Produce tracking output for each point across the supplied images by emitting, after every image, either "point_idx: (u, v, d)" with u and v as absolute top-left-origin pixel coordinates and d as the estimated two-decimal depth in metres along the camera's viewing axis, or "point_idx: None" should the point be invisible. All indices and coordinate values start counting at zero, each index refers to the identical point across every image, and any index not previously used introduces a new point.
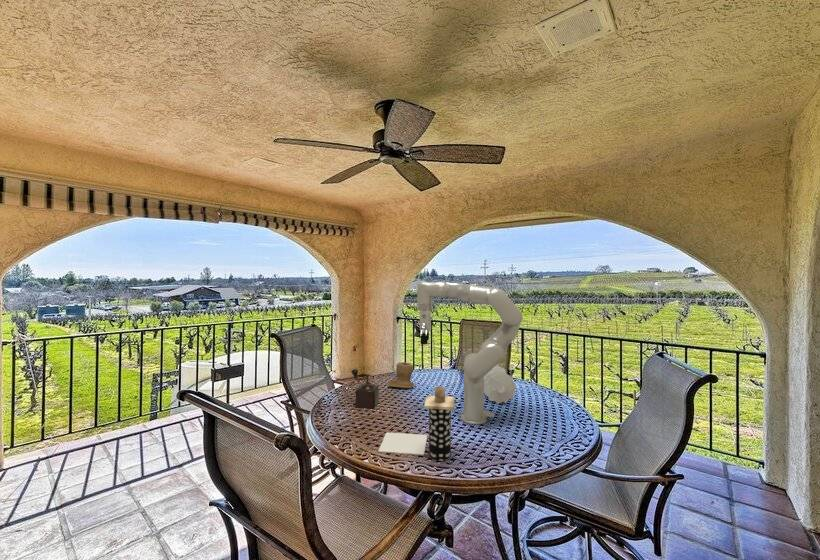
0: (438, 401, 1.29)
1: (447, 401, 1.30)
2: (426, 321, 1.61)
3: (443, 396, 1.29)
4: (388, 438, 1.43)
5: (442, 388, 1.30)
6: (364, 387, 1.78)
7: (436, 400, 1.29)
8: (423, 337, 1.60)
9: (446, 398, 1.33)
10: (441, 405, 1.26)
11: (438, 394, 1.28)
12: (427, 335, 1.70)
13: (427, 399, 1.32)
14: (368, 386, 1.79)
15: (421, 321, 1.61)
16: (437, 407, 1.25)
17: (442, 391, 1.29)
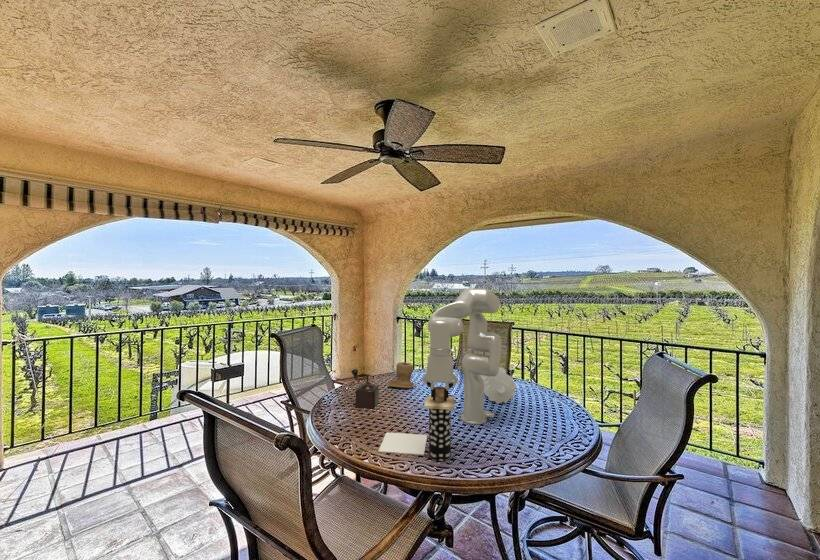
0: (438, 401, 1.29)
1: (447, 401, 1.30)
2: None
3: (443, 396, 1.29)
4: (388, 438, 1.43)
5: (442, 388, 1.30)
6: (364, 387, 1.78)
7: (436, 400, 1.29)
8: (448, 391, 1.30)
9: None
10: (441, 405, 1.26)
11: (438, 394, 1.28)
12: None
13: (427, 399, 1.32)
14: (368, 386, 1.79)
15: (452, 369, 1.28)
16: (437, 407, 1.25)
17: (442, 391, 1.29)
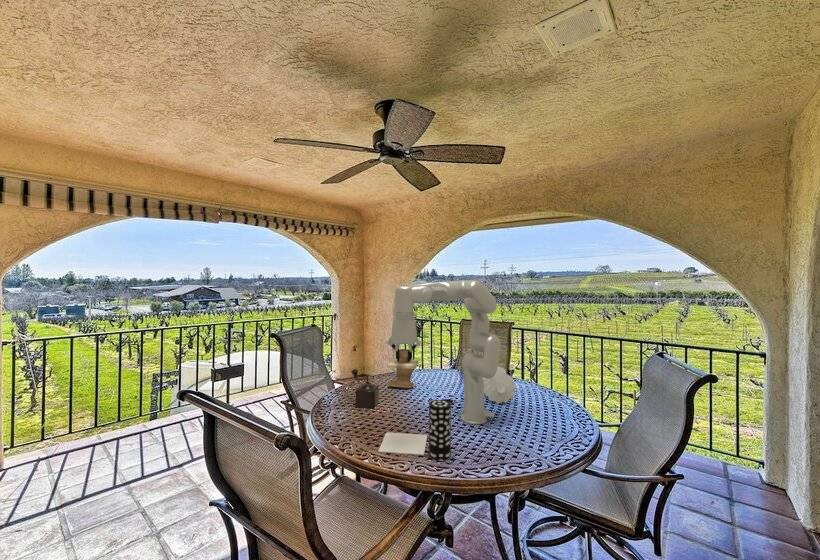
0: (402, 362, 1.37)
1: (410, 362, 1.39)
2: (416, 331, 1.39)
3: (406, 357, 1.37)
4: (388, 438, 1.43)
5: (406, 350, 1.39)
6: (364, 387, 1.78)
7: (400, 361, 1.38)
8: (411, 353, 1.38)
9: (410, 360, 1.42)
10: (404, 365, 1.34)
11: (402, 355, 1.37)
12: None
13: (392, 361, 1.41)
14: (368, 386, 1.79)
15: (415, 332, 1.37)
16: (400, 366, 1.34)
17: (405, 352, 1.37)
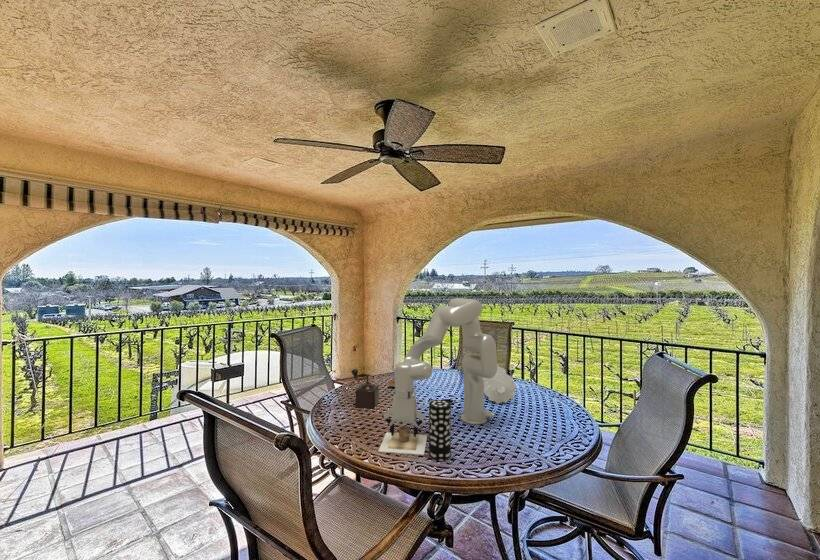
0: (402, 441, 1.38)
1: (411, 440, 1.39)
2: None
3: (407, 436, 1.38)
4: (388, 438, 1.43)
5: (406, 428, 1.39)
6: (364, 387, 1.78)
7: (400, 440, 1.38)
8: (417, 428, 1.39)
9: (410, 437, 1.42)
10: (404, 445, 1.35)
11: (402, 434, 1.38)
12: None
13: (392, 438, 1.41)
14: (368, 386, 1.79)
15: (415, 410, 1.37)
16: (400, 447, 1.34)
17: (406, 431, 1.38)
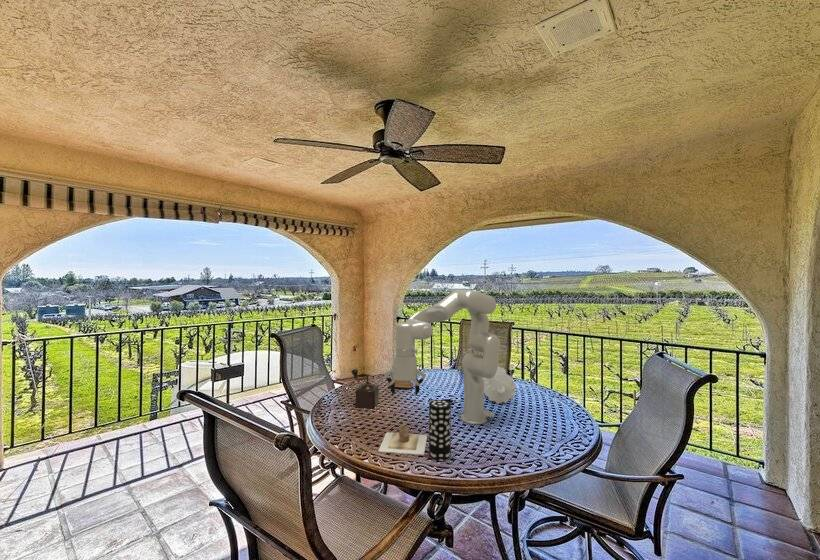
0: (402, 441, 1.38)
1: (411, 440, 1.39)
2: None
3: (407, 436, 1.38)
4: (388, 438, 1.43)
5: (406, 428, 1.39)
6: (364, 387, 1.78)
7: (400, 440, 1.38)
8: None
9: (410, 437, 1.42)
10: (404, 445, 1.35)
11: (402, 434, 1.38)
12: (394, 386, 1.41)
13: (392, 438, 1.41)
14: (368, 386, 1.79)
15: (416, 369, 1.38)
16: (400, 447, 1.34)
17: (406, 431, 1.38)
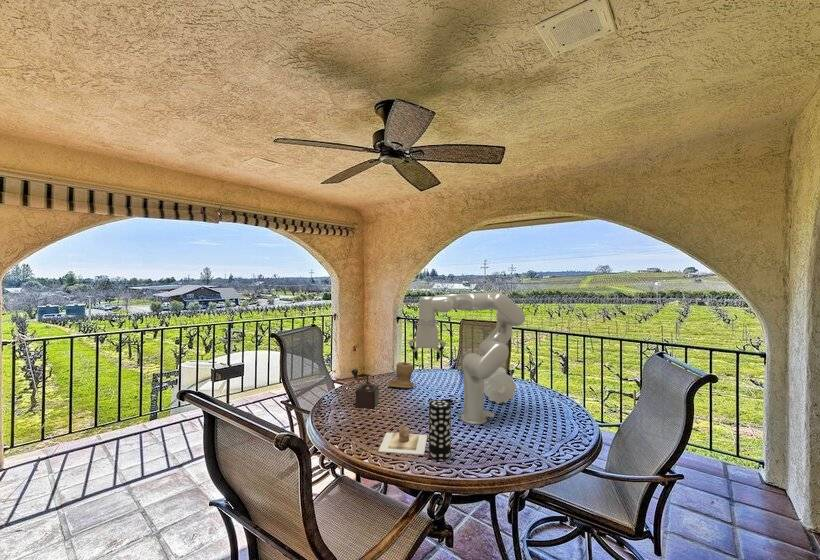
0: (402, 441, 1.38)
1: (411, 440, 1.39)
2: None
3: (407, 436, 1.38)
4: (388, 438, 1.43)
5: (406, 428, 1.39)
6: (364, 387, 1.78)
7: (400, 440, 1.38)
8: (439, 353, 1.55)
9: (410, 437, 1.42)
10: (404, 445, 1.35)
11: (402, 434, 1.38)
12: (417, 354, 1.57)
13: (392, 438, 1.41)
14: (368, 386, 1.79)
15: (437, 337, 1.54)
16: (400, 447, 1.34)
17: (406, 431, 1.38)
